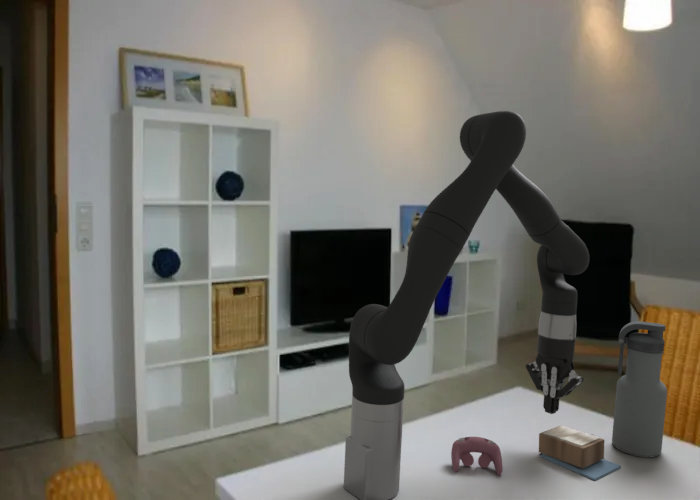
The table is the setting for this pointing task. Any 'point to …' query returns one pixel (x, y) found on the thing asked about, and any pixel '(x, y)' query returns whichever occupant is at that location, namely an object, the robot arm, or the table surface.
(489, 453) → the video game controller
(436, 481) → the table surface
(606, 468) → the rubber mat
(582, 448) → the wooden block
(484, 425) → the table surface
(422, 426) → the table surface
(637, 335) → the water bottle
